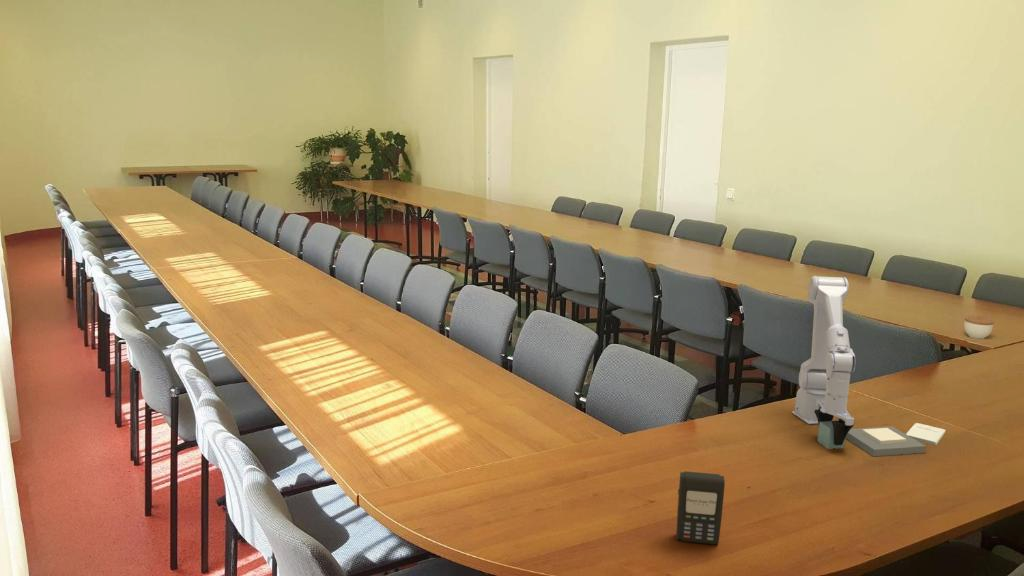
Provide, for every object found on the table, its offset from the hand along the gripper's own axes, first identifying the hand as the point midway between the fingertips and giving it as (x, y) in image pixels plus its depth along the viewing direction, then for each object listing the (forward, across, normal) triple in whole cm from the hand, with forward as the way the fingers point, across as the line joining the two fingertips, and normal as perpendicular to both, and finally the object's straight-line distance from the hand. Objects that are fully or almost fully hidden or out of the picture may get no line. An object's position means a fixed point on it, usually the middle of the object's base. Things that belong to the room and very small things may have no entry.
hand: (831, 439), depth 217 cm
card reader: (+2, +41, -59) cm, 72 cm away
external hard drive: (+2, -2, +32) cm, 32 cm away
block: (+2, 0, 0) cm, 2 cm away
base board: (+1, +2, +15) cm, 15 cm away
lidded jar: (+2, -93, +131) cm, 161 cm away
